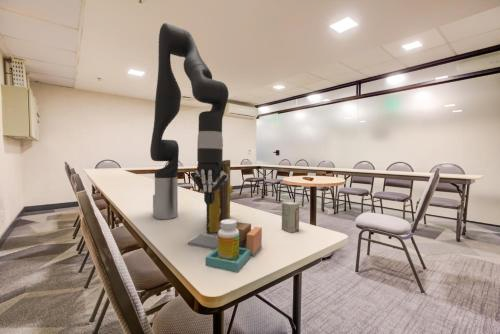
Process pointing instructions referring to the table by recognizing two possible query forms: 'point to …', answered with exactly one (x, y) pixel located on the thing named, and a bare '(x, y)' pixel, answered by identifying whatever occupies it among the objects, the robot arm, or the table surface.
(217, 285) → the table surface
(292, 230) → the skincare box
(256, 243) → the rail
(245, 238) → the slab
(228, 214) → the book
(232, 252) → the supplement bottle
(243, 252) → the cradle
